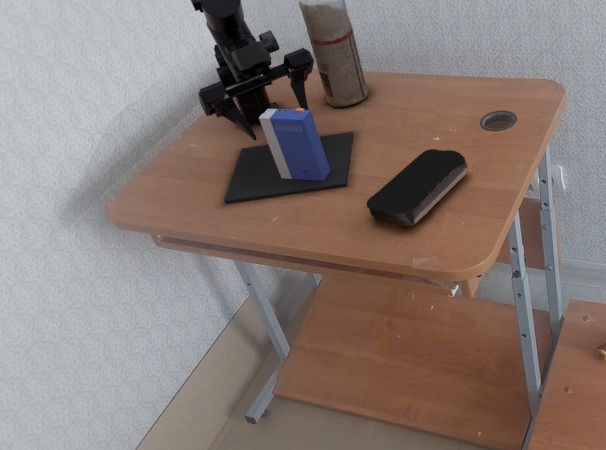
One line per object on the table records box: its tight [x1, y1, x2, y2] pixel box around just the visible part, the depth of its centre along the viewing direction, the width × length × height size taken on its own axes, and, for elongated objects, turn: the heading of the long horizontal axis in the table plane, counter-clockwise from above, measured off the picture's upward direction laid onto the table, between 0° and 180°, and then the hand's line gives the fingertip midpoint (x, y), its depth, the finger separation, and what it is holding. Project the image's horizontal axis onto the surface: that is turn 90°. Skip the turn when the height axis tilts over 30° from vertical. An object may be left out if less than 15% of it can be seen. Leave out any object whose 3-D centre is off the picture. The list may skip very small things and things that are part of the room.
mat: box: [223, 131, 354, 205], centre depth 118 cm, size 15×20×1 cm
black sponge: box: [366, 148, 468, 226], centre depth 105 cm, size 16×8×4 cm, turn 144°
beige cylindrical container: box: [298, 0, 369, 108], centre depth 127 cm, size 8×8×20 cm
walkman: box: [259, 107, 330, 181], centre depth 111 cm, size 8×3×12 cm, turn 73°
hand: (282, 128), depth 112 cm, fingers open, 9 cm apart
